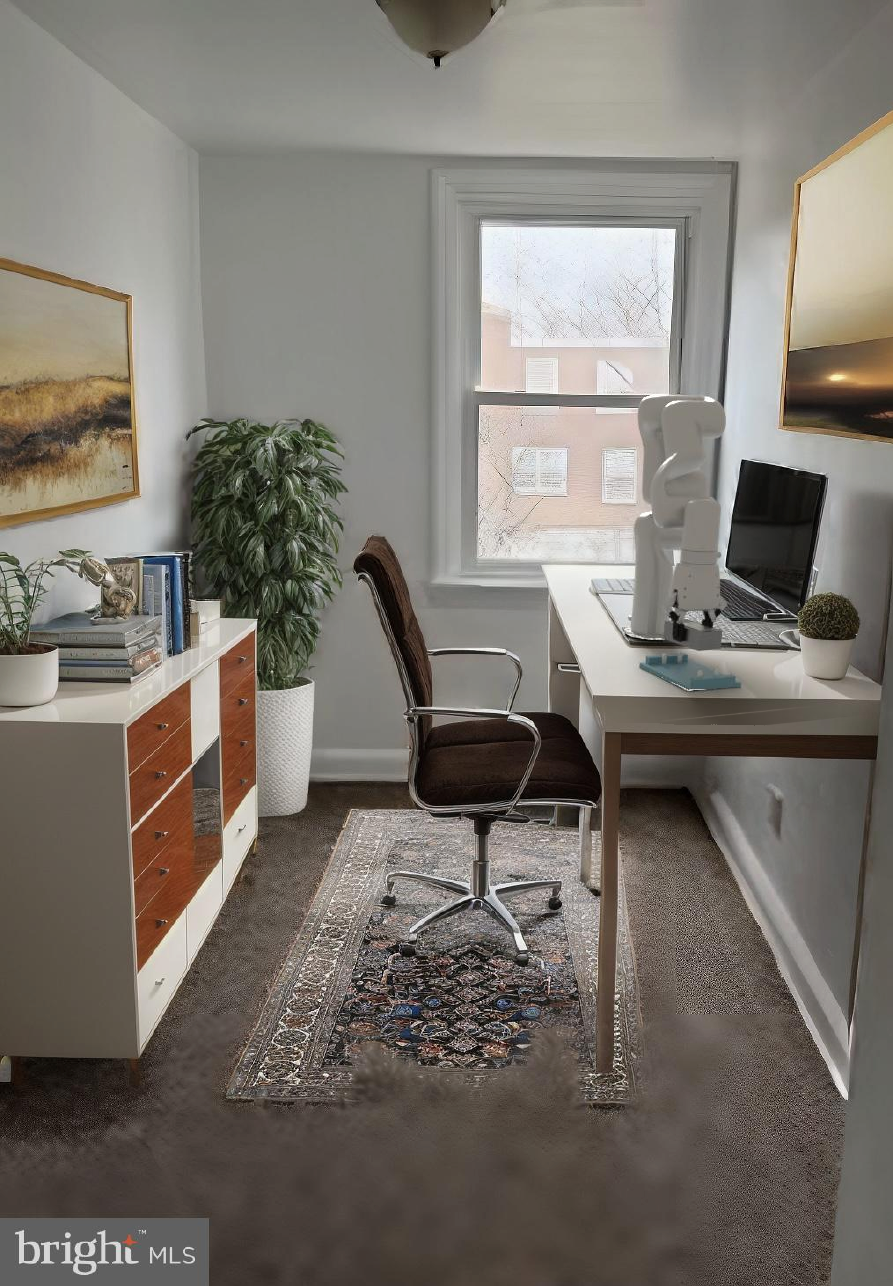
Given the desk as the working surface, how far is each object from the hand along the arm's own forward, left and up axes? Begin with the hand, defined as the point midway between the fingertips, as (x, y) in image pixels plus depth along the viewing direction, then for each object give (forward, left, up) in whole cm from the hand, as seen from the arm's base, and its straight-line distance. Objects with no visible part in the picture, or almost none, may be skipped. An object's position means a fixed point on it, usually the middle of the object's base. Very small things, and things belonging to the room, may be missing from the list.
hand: (691, 638), depth 226 cm
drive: (0, 0, -1) cm, 1 cm away
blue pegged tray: (0, 0, -9) cm, 9 cm away
